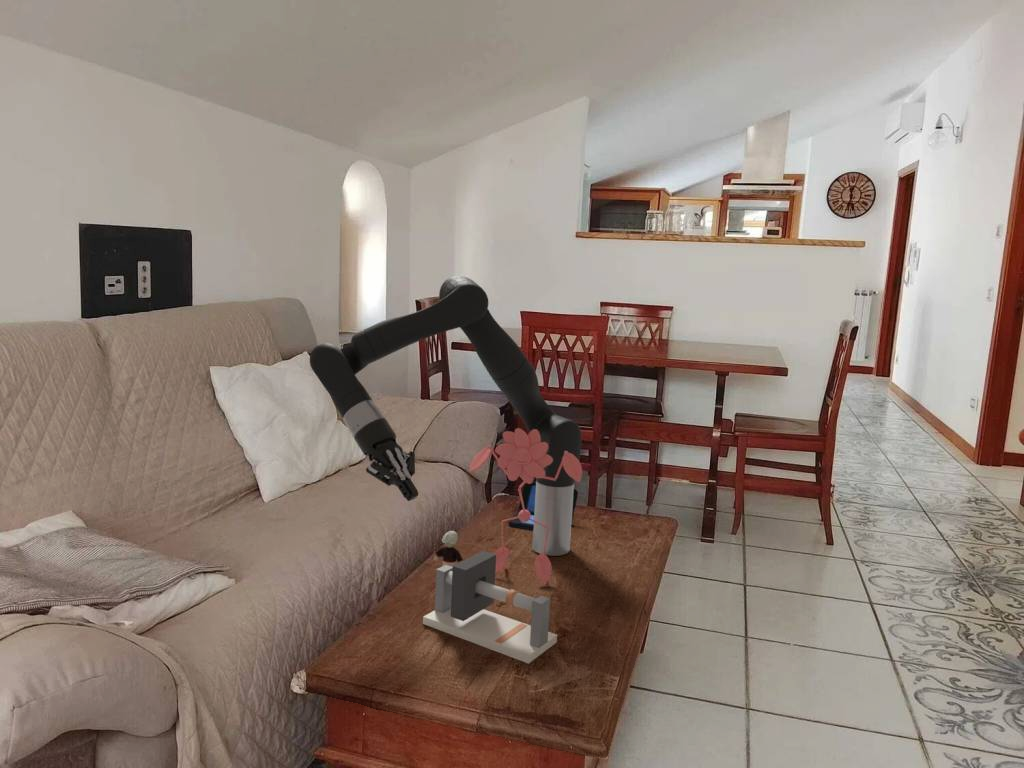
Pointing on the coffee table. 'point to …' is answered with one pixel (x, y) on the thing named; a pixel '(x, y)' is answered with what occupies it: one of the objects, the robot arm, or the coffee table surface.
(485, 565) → the grey plate with hole
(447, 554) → the grandmother figurine
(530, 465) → the flower
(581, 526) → the coffee table surface
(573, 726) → the coffee table surface
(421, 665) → the coffee table surface
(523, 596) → the pipe stand
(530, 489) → the handheld game console
